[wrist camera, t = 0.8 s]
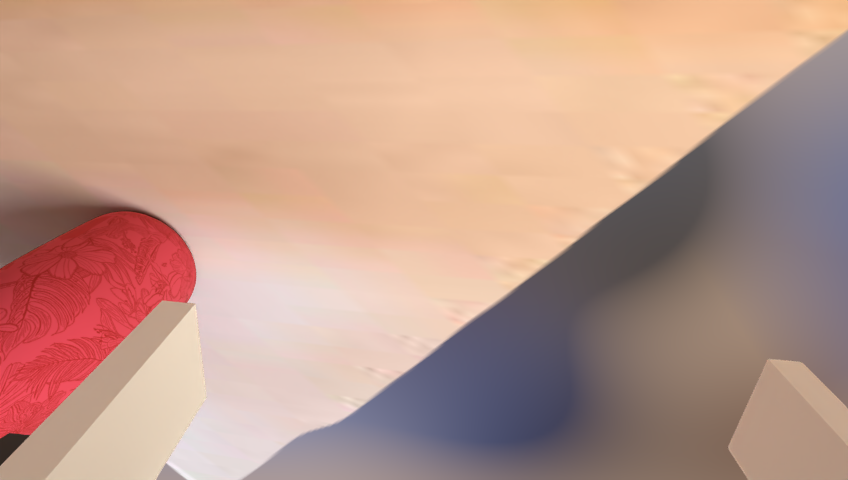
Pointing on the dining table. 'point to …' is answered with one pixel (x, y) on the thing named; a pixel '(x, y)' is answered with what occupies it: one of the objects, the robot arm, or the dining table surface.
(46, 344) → the wine bottle
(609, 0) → the dining table surface
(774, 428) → the robot arm
